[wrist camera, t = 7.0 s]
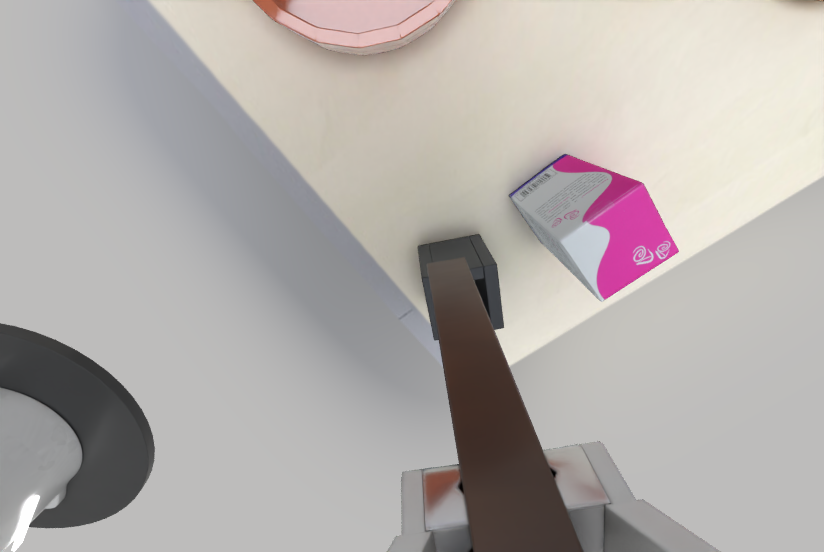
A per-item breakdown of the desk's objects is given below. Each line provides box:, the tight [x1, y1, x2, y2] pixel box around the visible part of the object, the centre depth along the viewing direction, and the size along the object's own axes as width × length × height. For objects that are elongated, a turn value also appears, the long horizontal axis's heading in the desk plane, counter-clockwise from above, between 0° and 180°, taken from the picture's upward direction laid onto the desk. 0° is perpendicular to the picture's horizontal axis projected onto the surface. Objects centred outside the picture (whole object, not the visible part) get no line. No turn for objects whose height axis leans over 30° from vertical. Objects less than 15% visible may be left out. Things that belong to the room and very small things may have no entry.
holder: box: [418, 234, 504, 340], centre depth 34 cm, size 6×6×7 cm
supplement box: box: [509, 154, 679, 301], centre depth 30 cm, size 6×6×12 cm
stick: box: [427, 257, 584, 552], centre depth 14 cm, size 2×2×16 cm
